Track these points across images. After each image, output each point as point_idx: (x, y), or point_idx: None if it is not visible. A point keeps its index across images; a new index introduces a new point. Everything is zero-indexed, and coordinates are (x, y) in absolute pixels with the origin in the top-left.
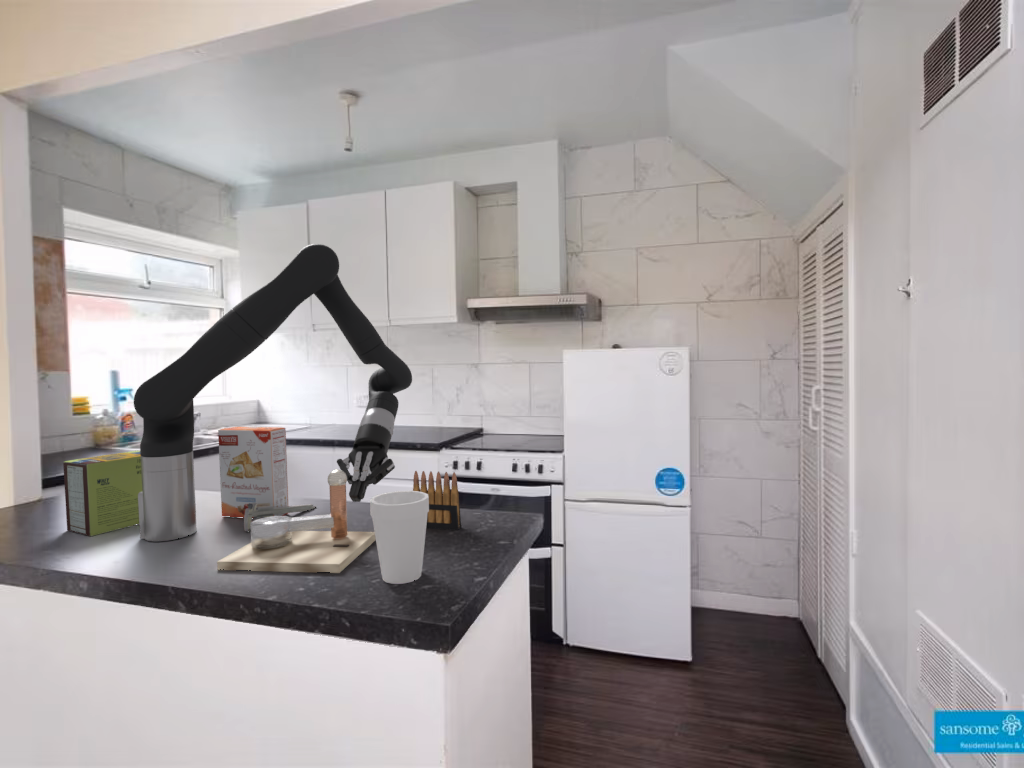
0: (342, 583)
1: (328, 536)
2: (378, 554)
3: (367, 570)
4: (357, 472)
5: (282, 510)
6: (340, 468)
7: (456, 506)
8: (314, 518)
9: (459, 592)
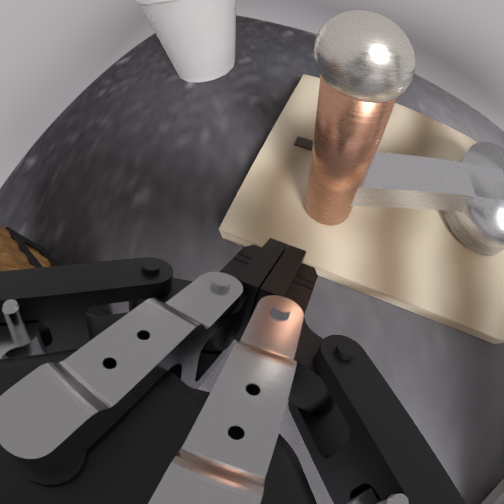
0: (293, 61)
1: (361, 232)
2: (235, 28)
3: (255, 85)
4: (257, 347)
5: (490, 501)
6: (421, 438)
7: (7, 227)
8: (409, 159)
9: (158, 39)
